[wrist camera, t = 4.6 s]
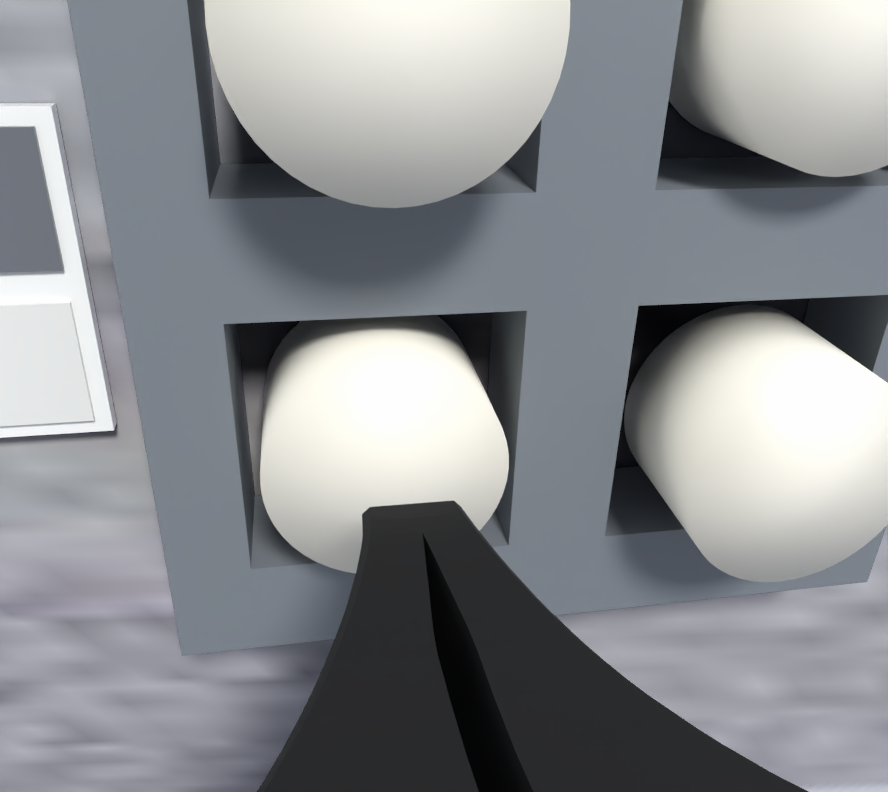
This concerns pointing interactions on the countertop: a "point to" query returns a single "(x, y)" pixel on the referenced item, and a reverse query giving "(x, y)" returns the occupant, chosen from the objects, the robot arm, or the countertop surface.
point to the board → (452, 307)
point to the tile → (45, 288)
